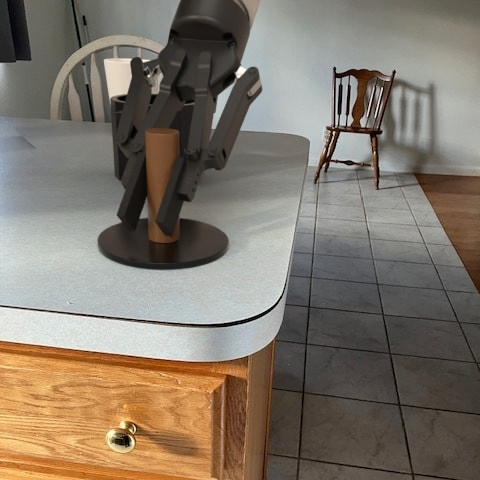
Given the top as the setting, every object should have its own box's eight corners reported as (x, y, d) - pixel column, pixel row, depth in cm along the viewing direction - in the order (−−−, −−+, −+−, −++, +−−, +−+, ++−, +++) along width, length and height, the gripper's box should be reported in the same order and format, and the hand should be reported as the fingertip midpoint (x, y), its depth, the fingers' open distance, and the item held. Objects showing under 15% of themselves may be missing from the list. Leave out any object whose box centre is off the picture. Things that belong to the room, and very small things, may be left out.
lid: (71, 261, 50) (58, 134, 44) (136, 221, 60) (132, 114, 55) (199, 285, 46) (202, 152, 41) (244, 238, 57) (251, 127, 52)
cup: (168, 137, 103) (167, 63, 97) (118, 140, 98) (114, 62, 92) (148, 127, 110) (146, 58, 104) (101, 130, 105) (96, 57, 99)
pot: (88, 188, 70) (81, 102, 65) (148, 162, 85) (145, 89, 79) (170, 200, 67) (169, 111, 62) (217, 171, 82) (220, 96, 77)
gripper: (296, 52, 56) (238, 258, 50) (154, 41, 60) (84, 231, 54) (289, -12, 49) (220, 219, 43) (129, -19, 53) (45, 192, 47)
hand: (144, 225), depth 48 cm, fingers closed on lid, 3 cm apart
